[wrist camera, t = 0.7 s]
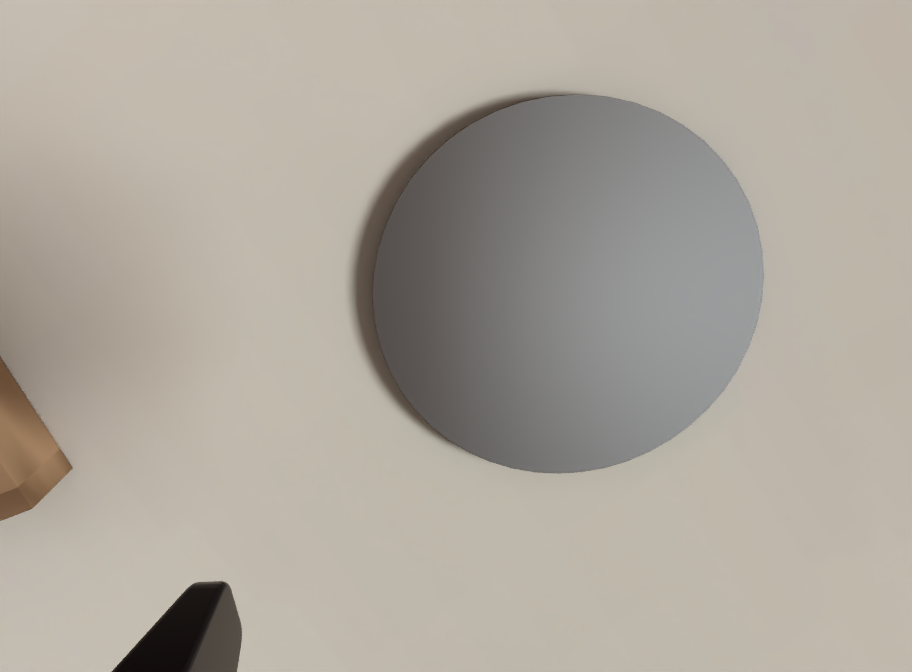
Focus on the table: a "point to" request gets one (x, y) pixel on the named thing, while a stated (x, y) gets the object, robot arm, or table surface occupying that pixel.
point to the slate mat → (568, 283)
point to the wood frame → (24, 451)
